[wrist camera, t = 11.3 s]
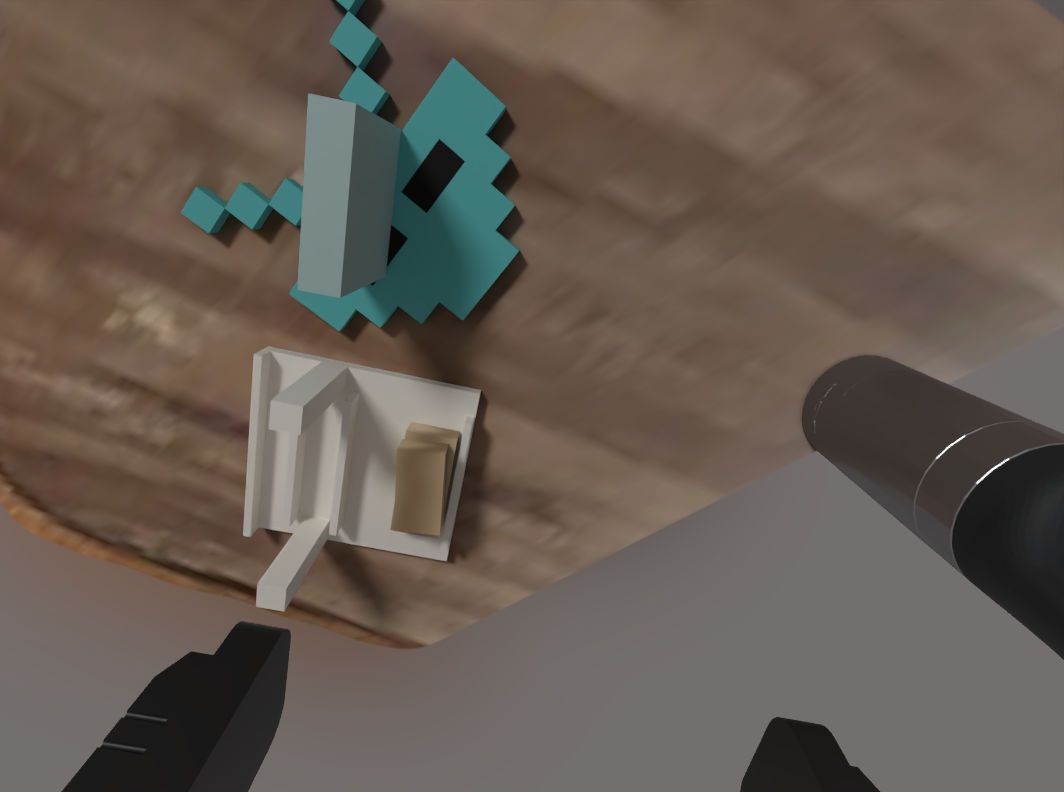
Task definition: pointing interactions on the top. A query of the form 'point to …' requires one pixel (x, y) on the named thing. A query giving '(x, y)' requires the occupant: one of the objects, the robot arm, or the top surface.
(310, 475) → the rack
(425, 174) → the alien figure
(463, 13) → the top surface
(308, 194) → the grey-green square slab
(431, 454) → the offcut top
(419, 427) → the offcut low
